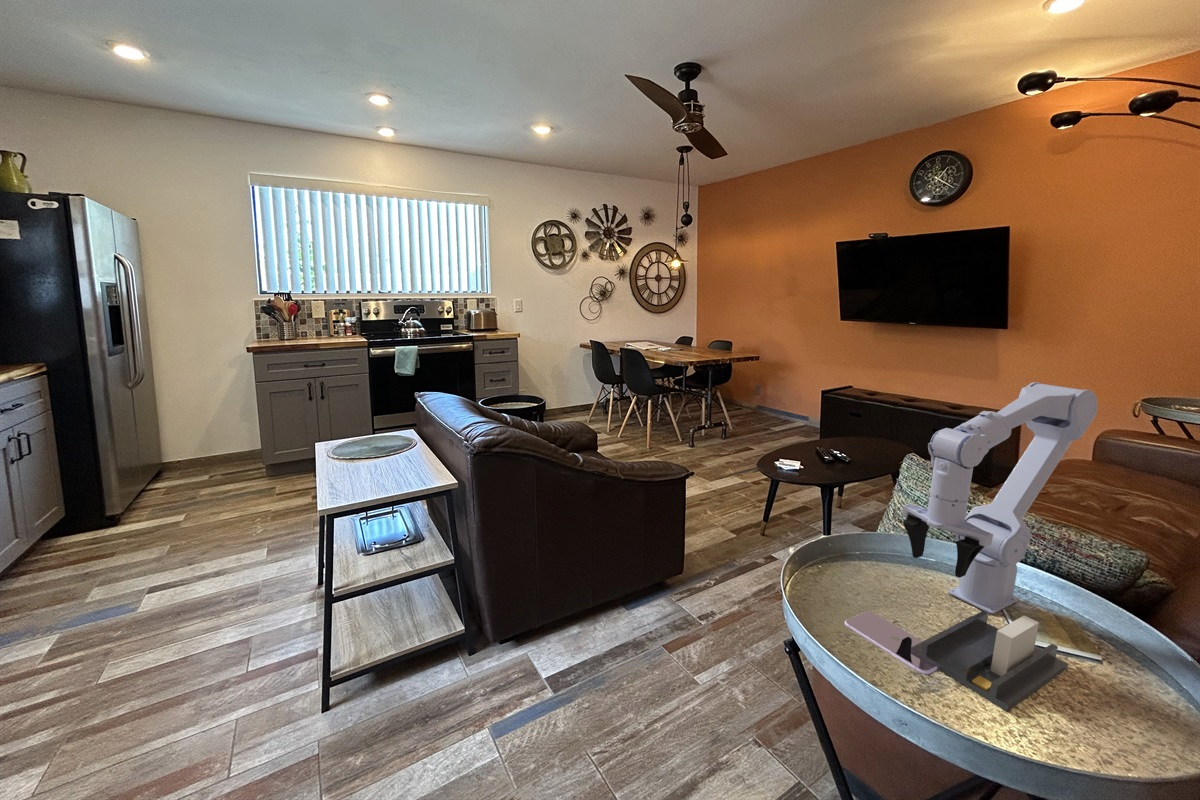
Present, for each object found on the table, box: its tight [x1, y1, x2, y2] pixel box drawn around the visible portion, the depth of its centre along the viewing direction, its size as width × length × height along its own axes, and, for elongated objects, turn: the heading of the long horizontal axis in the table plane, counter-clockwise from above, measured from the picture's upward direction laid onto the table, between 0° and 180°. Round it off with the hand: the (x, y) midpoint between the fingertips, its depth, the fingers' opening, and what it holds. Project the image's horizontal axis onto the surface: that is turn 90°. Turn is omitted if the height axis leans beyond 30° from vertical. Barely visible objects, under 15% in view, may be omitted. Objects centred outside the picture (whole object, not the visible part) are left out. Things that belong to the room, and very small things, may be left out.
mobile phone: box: [844, 610, 938, 675], centre depth 89 cm, size 8×1×15 cm
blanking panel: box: [990, 615, 1040, 676], centre depth 81 cm, size 8×2×7 cm, turn 117°
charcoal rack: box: [911, 610, 1069, 713], centre depth 84 cm, size 18×14×3 cm
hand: (938, 565), depth 95 cm, fingers open, 7 cm apart
